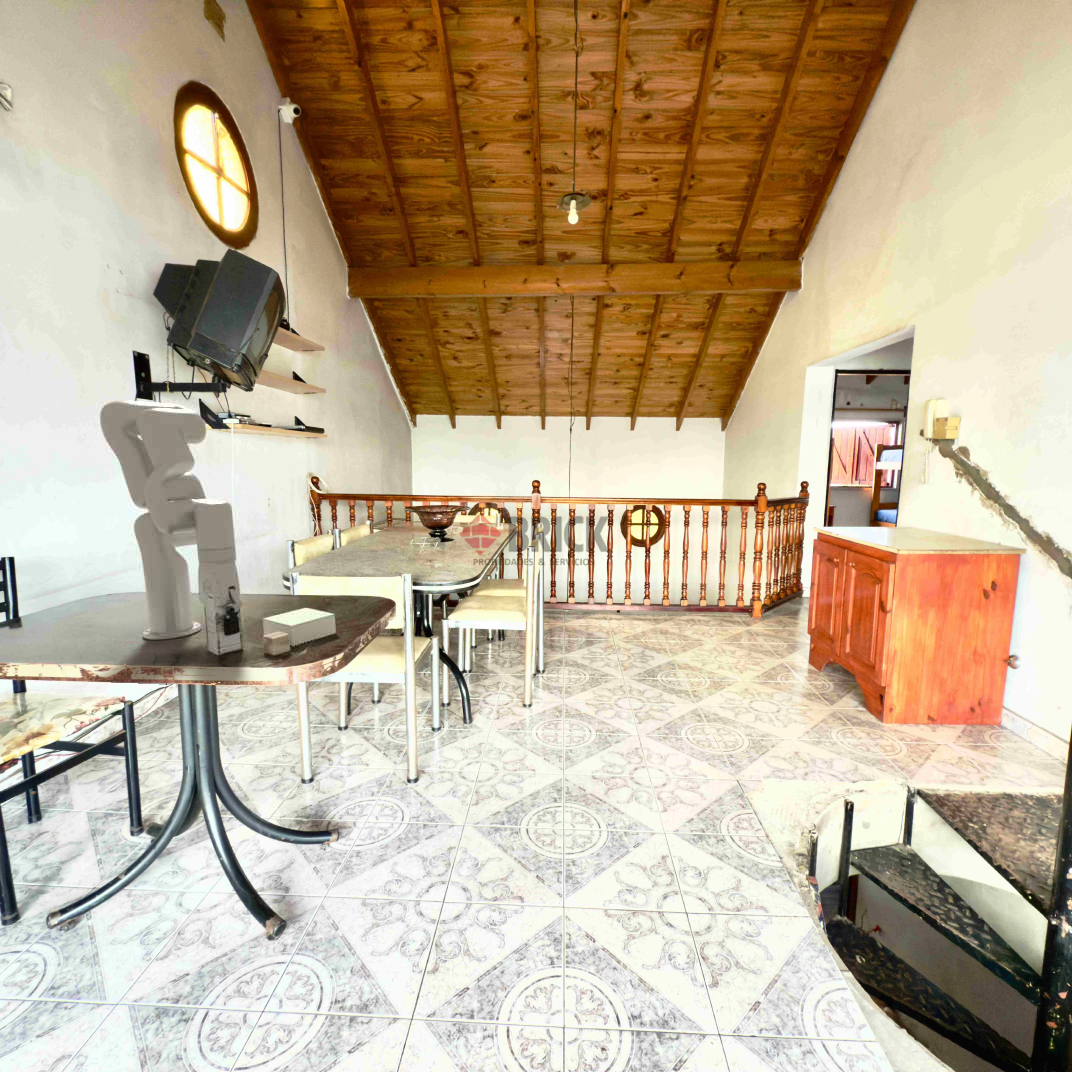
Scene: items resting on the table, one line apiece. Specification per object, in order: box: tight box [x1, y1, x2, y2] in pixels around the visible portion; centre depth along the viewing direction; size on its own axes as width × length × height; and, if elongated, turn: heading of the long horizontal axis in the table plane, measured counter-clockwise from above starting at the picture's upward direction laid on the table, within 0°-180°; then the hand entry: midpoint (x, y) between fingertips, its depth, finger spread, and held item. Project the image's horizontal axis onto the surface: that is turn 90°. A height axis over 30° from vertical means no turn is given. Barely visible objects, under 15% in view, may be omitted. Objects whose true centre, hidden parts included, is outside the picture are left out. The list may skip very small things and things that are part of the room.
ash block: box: [262, 631, 291, 656], centre depth 130 cm, size 4×4×4 cm
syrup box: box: [203, 592, 244, 656], centre depth 130 cm, size 6×6×14 cm
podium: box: [262, 607, 337, 647], centre depth 141 cm, size 12×12×5 cm
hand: (224, 631), depth 131 cm, fingers closed on syrup box, 6 cm apart
